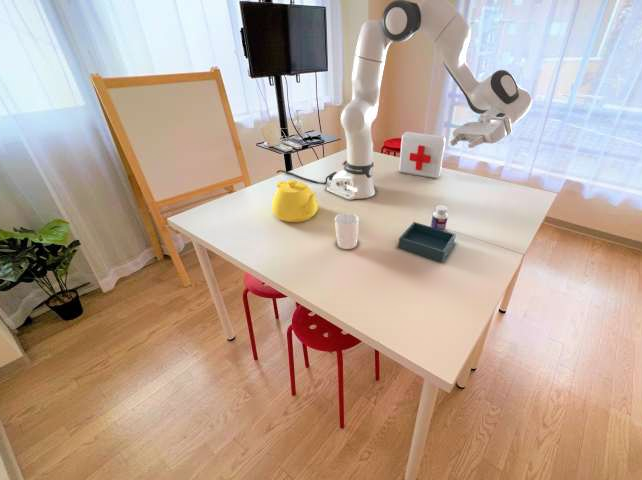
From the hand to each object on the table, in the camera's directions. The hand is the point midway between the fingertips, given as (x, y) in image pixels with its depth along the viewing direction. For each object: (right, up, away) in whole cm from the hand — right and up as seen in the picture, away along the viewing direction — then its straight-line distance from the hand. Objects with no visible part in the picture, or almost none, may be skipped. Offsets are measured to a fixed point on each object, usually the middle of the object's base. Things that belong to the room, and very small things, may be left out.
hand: (460, 144), depth 104 cm
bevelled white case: (-5, +3, +55) cm, 55 cm away
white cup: (-39, -34, +2) cm, 52 cm away
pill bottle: (-6, -29, +10) cm, 31 cm away
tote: (-11, -35, +2) cm, 36 cm away
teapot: (-60, -22, +18) cm, 66 cm away
